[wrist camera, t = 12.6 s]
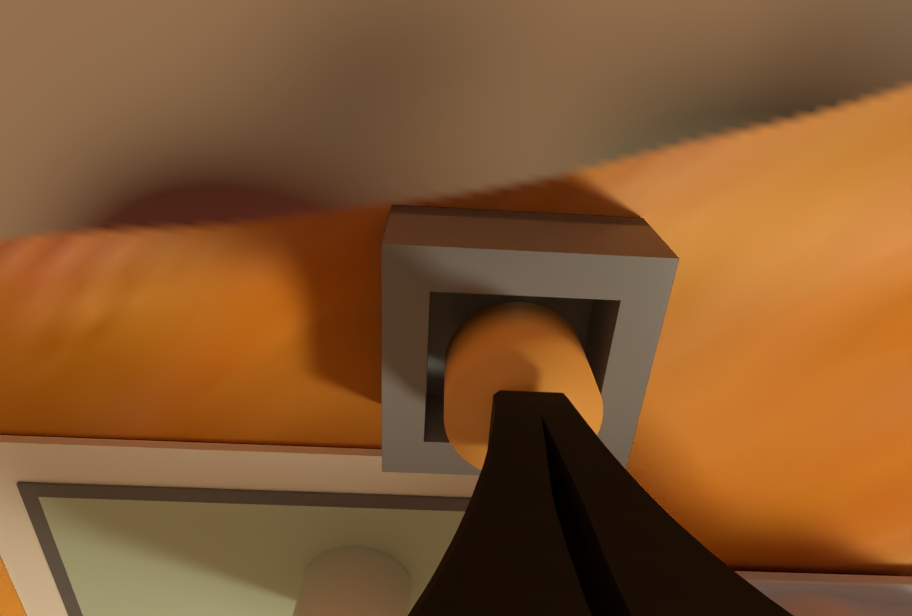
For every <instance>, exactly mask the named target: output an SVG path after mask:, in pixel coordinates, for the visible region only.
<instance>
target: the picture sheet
mask: <svg viewBox="0 0 912 616" xmlns="http://www.w3.org/2000/svg"><path fill="white" fill-rule="evenodd" d="M478 478H479V475H456V474H428V473H401V472H382V449H360V448H333V447H307V446H280V445H254V444H227V443H200V442H174V441H147V440H120V439H94V438H67V437H40V436H14V435H0V556H1V558H2V560H3V563H4V565H5V567H6V569H7V572H8V574H9V576H10V578H11V580H12V583H13V585H14V587H15V589H16V592H17V594H18V596H19V598H20V601H21V603H22V605H23V607H24V610H25V612H26V614H27V616H292V615H293V612H294V608H295V604H296V600H297V596H298V593H299V589H300V585H301V581H302V577H303V573H304V571H305V568H306V567H307V565H308V564H309V563H310V562H311V561H312V560H313V559H314V558H315V557H317V556H319V555H320V554H322V553H324V552H327V551H329V550H333V549H337V548H342V547H364V548H369V549H373V550H377V551H380V552H383V553H385V554H387V555H389V556H391V557H392V558H394V559H396V560H397V561H398V562H399V563H400V564H401V565H402V566H403V567H404V568H405V569H406V571H407V572H408V574H409V577H410V580H411V595H410V609H409V613H410V611H411V609H412V608H413V606H414V605H415V603H416V602H417V600H418V599H419V597H420V596H421V594H422V592H423V591H424V589H425V588H426V586H427V584H428V583H429V581H430V579H431V578H432V576H433V574H434V572H435V571H436V569H437V567H438V565H439V563H440V562H441V560H442V558H443V556H444V554H445V552H446V550H447V549H448V547H449V545H450V543H451V541H452V539H453V537H454V535H455V533H456V531H457V529H458V527H459V524H460V522H461V520H462V518H463V516H464V514H465V511H466V509H467V507H468V504H469V502H470V500H471V497H472V494H473V492H474V489H475V486H476V484H477V481H478Z"/></svg>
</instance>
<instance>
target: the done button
mask: <svg viewBox="0 0 912 616" xmlns="http://www.w3.org/2000/svg"><path fill="white" fill-rule="evenodd" d="M499 390H507V391H532V392H557V393H564V394H565V395H566V396H567V398H568V399H569V400H570V401H571V403H572V404H573V405H574V407H575V408H576V409H577V410H578V412H579V413H580V414H581V416H582V417H583V418H584V420H585V421H586V422H587V423H588V425H589V426H590V427H591V428H592V430H593V431H594V432H595V433H596V435H597V434H598V432H599V430H600V426H601V423H602V418H603V402H602V397H601V394H600V392H599V389H598V386H597V384H596V381H595V378H594V376H593V373H592V371H591V368H590V365H589V363H588V360H587V358H586V355H585V352H584V350H583V347H582V345H581V342H580V339H579V337H578V335H577V333H576V331H575V330H574V328H573V327H572V326H571V325H570V323H569V322H568V321H567V320H566V319H564V318H563V317H562V316H561V315H559V314H558V313H556V312H554V311H553V310H551V309H549V308H546V307H543V306H541V305H537V304H532V303H525V302H509V303H502V304H498V305H494V306H491V307H488V308H485V309H483V310H481V311H479V312H477V313H475V314H474V315H473V316H471V317H470V318H468V319H467V320H466V321H465V322H464V323H463V324H461V326H460V327H459V328H458V329H457V330H456V332H455V333H454V335H453V336H452V338H451V340H450V342H449V344H448V347H447V350H446V354H445V371H444V426H445V431H446V434H447V437H448V439H449V441H450V443H451V445H452V446H453V448H454V449H455V450H456V452H457V453H458V454H459V455H460V456H461V457H462V458H463V459H464V460H466V461H467V462H468V463H470V464H471V465H473V466H475V467H476V468H478V469H480V470H482V467H483V464H484V461H485V457H486V453H487V449H488V440H489V430H490V421H491V412H492V402H493V395H494V394H495V393H497V392H498V391H499Z"/></svg>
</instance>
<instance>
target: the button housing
mask: <svg viewBox="0 0 912 616" xmlns="http://www.w3.org/2000/svg"><path fill="white" fill-rule="evenodd" d="M678 262H679V258H678V257H677V256H676V254H675V253H674V252H673V251H672V250H671V249H670V248H669V247H668V245H667V244H666V243H665V242H664V241H663V240H662V239H661V238H660V237H659V235H658V234H657V233H656V232H655V231H654V230H653V229H652V228H651V226H650V225H649V224H648V223H647V222H646V221H645V220H644V219H643V218H634V217H615V216H596V215H576V214H557V213H538V212H519V211H500V210H480V209H461V208H442V207H423V206H403V205H392V207H391V211H390V214H389V218H388V221H387V225H386V228H385V232H384V235H383V239H382V242H381V366H382V472H401V473H428V474H456V475H480V473H481V470H480V469H478V468H476V467H475V466H473V465H471V464H470V463H468V462H467V461H466V460H464V459H463V458H462V457H461V456H460V455H459V454H458V453H457V452H456V450H455V449H454V448H453V446H452V445H451V443H450V441H449V439H448V437H447V434H446V431H445V426H444V371H445V354H446V350H447V347H448V344H449V342H450V340H451V338H452V336H453V335H454V333H455V332H456V330H457V329H458V328H459V327H460V326H461V324H463V323H464V322H465V321H466V320H467V319H468V318H470V317H471V316H473V315H474V314H475V313H477V312H479V311H481V310H483V309H485V308H488V307H491V306H494V305H498V304H502V303H509V302H525V303H532V304H537V305H541V306H543V307H546V308H549V309H551V310H553V311H554V312H556V313H558V314H559V315H561V316H562V317H563V318H564V319H566V320H567V321H568V322H569V323H570V325H571V326H572V327H573V328H574V330H575V331H576V333H577V335H578V337H579V339H580V342H581V345H582V347H583V350H584V352H585V355H586V358H587V360H588V363H589V365H590V368H591V371H592V373H593V376H594V378H595V381H596V384H597V386H598V389H599V392H600V394H601V397H602V402H603V418H602V423H601V426H600V430H599V432H598V434H597V436H598V437H599V438H600V440H601V441H602V442H603V443H604V445H605V446H606V447H607V448H608V449H609V451H610V452H611V453H612V454H613V455H614V456H615V458H616V459H617V460H618V461H619V462H620V463H621V465H622V466H623V467H624V468H625V469H626V466H627V462H628V458H629V454H630V450H631V446H632V443H633V439H634V435H635V431H636V427H637V423H638V419H639V415H640V411H641V407H642V403H643V399H644V395H645V391H646V387H647V384H648V380H649V376H650V372H651V368H652V364H653V360H654V356H655V352H656V348H657V344H658V340H659V336H660V332H661V329H662V325H663V321H664V317H665V313H666V309H667V305H668V301H669V297H670V293H671V289H672V285H673V281H674V277H675V274H676V270H677V266H678Z"/></svg>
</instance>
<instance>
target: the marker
mask: <svg viewBox="0 0 912 616" xmlns="http://www.w3.org/2000/svg"><path fill="white" fill-rule="evenodd" d="M410 595H411V580H410V577H409V574H408V572H407V571H406V569H405V568H404V567H403V566H402V565H401V564H400V563H399V562H398V561H397V560H396V559H394V558H392V557H391V556H389V555H387V554H385V553H383V552H380V551H377V550H373V549H369V548H364V547H342V548H337V549H333V550H329V551H327V552H324V553H322V554H320V555H319V556H317V557H315V558H314V559H313V560H312V561H311V562H310V563H309V564H308V565H307V567H306V568H305V571H304V573H303V577H302V581H301V585H300V589H299V593H298V596H297V600H296V604H295V608H294V612H293V615H292V616H408V614H409V609H410Z"/></svg>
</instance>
